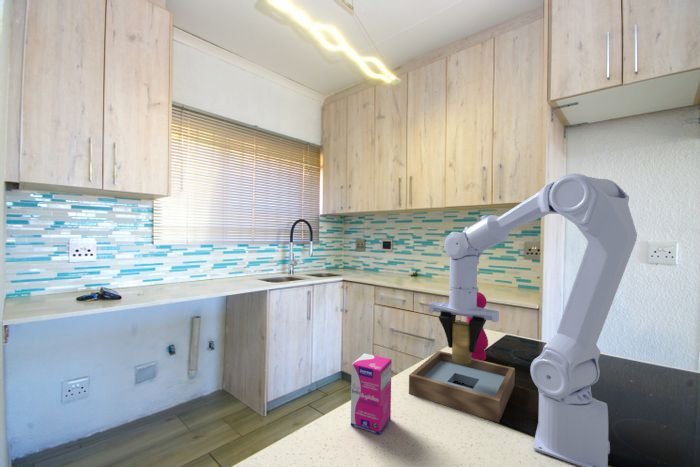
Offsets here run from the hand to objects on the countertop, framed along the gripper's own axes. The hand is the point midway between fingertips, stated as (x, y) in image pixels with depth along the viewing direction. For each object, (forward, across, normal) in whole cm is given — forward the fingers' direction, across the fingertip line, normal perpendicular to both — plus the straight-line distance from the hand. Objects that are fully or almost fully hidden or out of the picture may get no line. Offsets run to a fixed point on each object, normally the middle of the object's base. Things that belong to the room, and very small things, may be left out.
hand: (461, 348), depth 71 cm
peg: (+2, 0, 0) cm, 3 cm away
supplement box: (+10, +10, +22) cm, 26 cm away
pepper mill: (+10, +3, -22) cm, 24 cm away
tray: (+9, 0, -1) cm, 9 cm away
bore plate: (+9, 0, -1) cm, 9 cm away
